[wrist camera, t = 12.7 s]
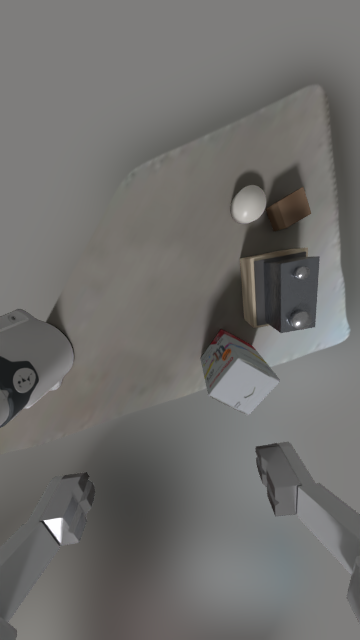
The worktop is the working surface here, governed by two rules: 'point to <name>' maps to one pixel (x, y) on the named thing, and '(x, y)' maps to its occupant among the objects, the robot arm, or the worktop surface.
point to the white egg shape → (248, 204)
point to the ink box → (236, 373)
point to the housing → (291, 293)
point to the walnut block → (288, 210)
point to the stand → (260, 283)
